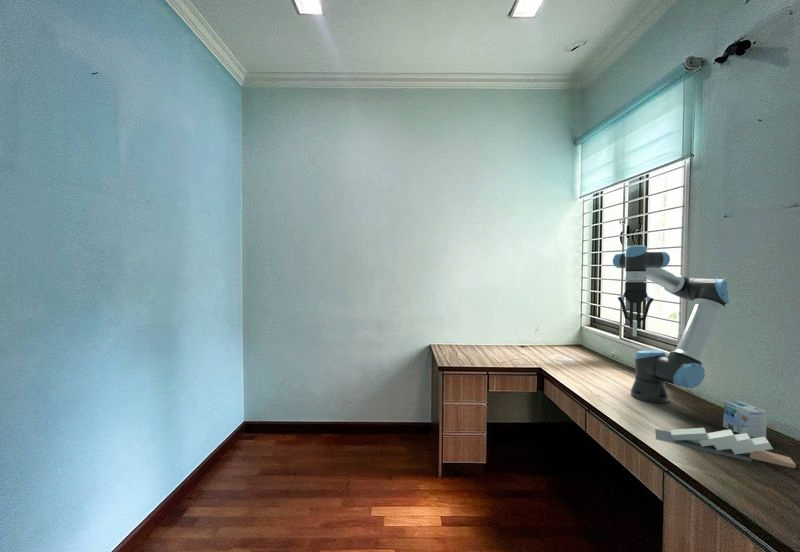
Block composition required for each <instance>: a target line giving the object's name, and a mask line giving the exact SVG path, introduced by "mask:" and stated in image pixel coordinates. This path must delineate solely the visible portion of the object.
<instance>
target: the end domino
mask: <svg viewBox="0 0 800 552" xmlns="http://www.w3.org/2000/svg"><path fill="white" fill-rule="evenodd" d="M747 454H748V455H749V457H750V458H751V460H752V459H753V460H757V461H760V462H766V463H769V464H773V465H779V466H783V467H786V468H791V469H796V466H797V464H796V463H795V461H793V459H792V458H791V457H789V456H787V455H782V454H778V453H774V452H771V451H769V450H768V451H767V450H763V451H756V452H749V453H747Z"/></svg>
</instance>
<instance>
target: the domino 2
mask: <svg viewBox="0 0 800 552" xmlns="http://www.w3.org/2000/svg"><path fill="white" fill-rule="evenodd" d="M706 434H707V436H708V439H699V442H700V444H701V446H702V447H703V446H709V445H715V444H721V443H727V442H734V441H737V439H736V437H735V436H734V435H735V434H734V432H733V431H731V429H722V430H718V431H713V432H706Z"/></svg>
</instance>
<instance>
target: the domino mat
mask: <svg viewBox="0 0 800 552" xmlns="http://www.w3.org/2000/svg"><path fill="white" fill-rule="evenodd" d="M654 433H655V439H656V440H658V441H662V442H666V443H669V444H675V445H679V446H683V447H687V448H692V449H697V450H702V451H705V452H709V453H713V454H719V455H722V456H726V457H730V458H736V459H739V460H744V461H748V462H753V460H752V458H750V457H749V455H748V454H747V453H742V454H734V452H733V451H732V449H724V450H718V451H717V449H716V447H715V446H714V445H709V446H703V447H702V446H701V444H700V442H699V440H676V441H674V440H673V437H672V435H671V431H666V430H662V429H658V428H655V429H654Z"/></svg>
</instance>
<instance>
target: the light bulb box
mask: <svg viewBox="0 0 800 552" xmlns="http://www.w3.org/2000/svg"><path fill="white" fill-rule="evenodd" d="M767 413H768V412H767V411H766V410H764V409H761V408H759V407H756V406H754V405H752V404H748V403H746V402H744V401H742V400H724V401H723V419H722V422H723V423H722V427H723V428H725V429H726V430H729V429H731V431H732V432H733V433H738V434H743V433H747V434H748V436H749V437H750V438H758V437H765V438H766V439H767V421H768V416H767V415H768V414H767Z"/></svg>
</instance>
